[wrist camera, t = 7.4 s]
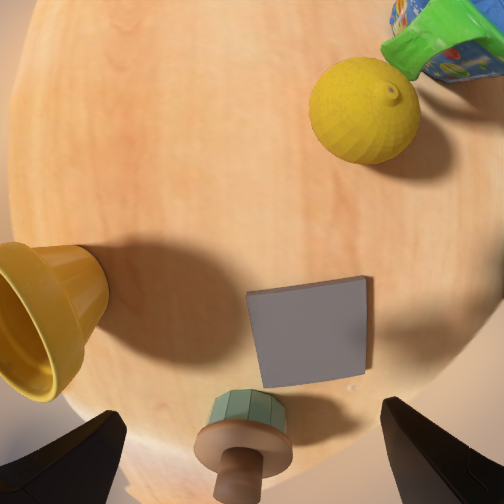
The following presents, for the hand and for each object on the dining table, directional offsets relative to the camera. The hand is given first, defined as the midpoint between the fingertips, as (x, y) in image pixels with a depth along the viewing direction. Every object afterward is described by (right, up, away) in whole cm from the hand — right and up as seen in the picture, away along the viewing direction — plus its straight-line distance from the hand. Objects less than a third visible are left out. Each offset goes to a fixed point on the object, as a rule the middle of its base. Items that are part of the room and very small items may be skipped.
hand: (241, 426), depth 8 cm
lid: (0, -10, +11) cm, 15 cm away
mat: (+5, -1, +12) cm, 13 cm away
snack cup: (+14, +22, +6) cm, 26 cm away
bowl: (0, -9, +15) cm, 17 cm away
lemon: (+6, +14, +9) cm, 17 cm away
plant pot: (-14, +3, +13) cm, 19 cm away
